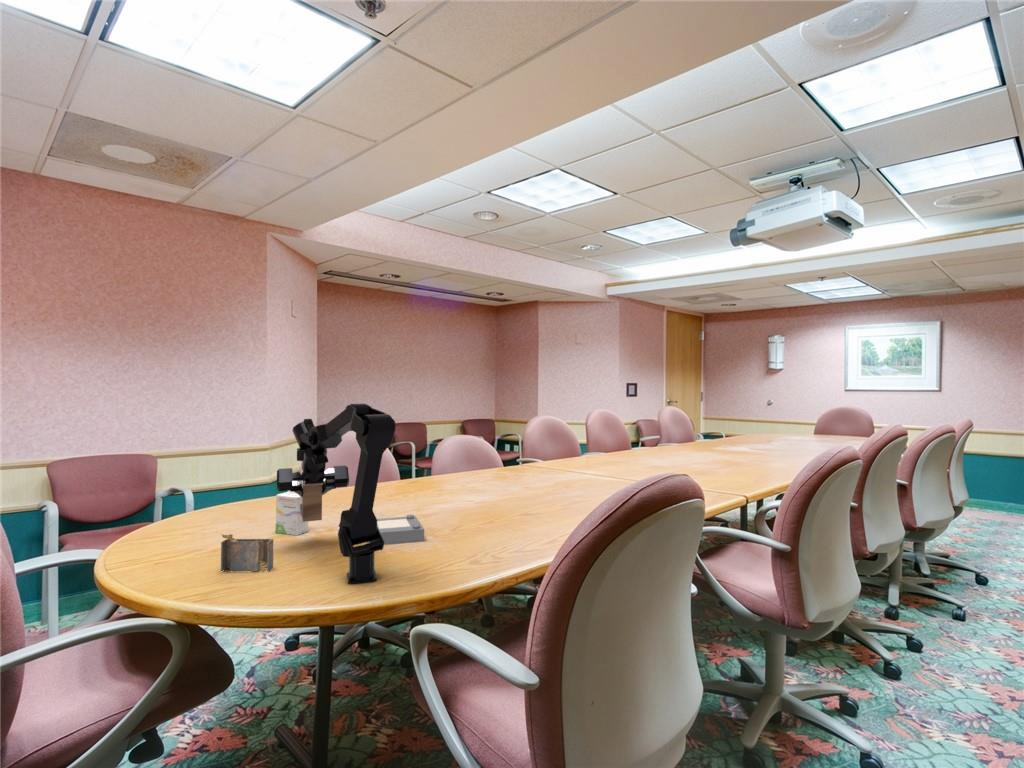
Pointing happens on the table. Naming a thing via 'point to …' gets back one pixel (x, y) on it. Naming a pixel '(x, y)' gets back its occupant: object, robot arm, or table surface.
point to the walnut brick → (312, 502)
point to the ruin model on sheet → (246, 554)
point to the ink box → (289, 514)
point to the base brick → (400, 529)
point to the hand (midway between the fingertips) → (311, 494)
